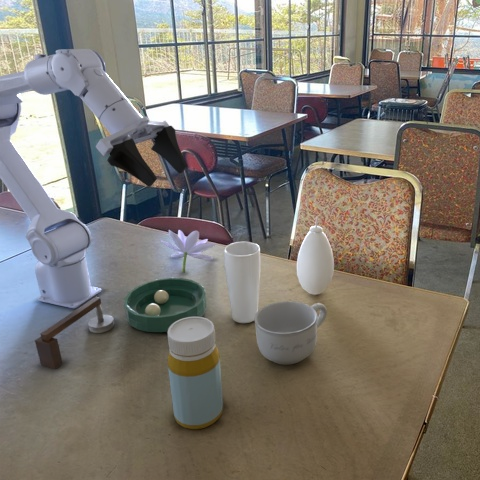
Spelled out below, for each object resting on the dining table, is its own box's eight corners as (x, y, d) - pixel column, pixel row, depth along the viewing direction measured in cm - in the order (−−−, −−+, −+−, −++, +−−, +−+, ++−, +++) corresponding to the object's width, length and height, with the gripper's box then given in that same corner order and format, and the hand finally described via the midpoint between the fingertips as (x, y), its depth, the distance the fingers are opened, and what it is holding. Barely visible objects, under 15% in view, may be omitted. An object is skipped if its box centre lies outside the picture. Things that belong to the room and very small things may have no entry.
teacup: (269, 380, 78) (268, 339, 75) (246, 344, 87) (245, 306, 84) (343, 357, 84) (345, 318, 81) (315, 326, 93) (316, 289, 90)
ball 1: (143, 319, 92) (141, 306, 91) (151, 312, 94) (150, 299, 93) (155, 322, 91) (153, 309, 90) (164, 314, 94) (162, 302, 93)
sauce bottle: (290, 297, 103) (291, 218, 96) (305, 281, 109) (306, 206, 102) (324, 305, 100) (327, 225, 93) (337, 288, 107) (341, 212, 100)
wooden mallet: (100, 318, 93) (95, 290, 91) (119, 322, 92) (114, 294, 90) (37, 364, 80) (29, 333, 78) (58, 370, 79) (51, 338, 77)
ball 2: (152, 305, 97) (150, 293, 96) (160, 298, 99) (158, 286, 98) (164, 307, 96) (162, 295, 95) (172, 300, 99) (170, 288, 97)
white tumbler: (255, 329, 91) (253, 258, 85) (222, 324, 93) (217, 253, 87) (266, 310, 98) (265, 243, 92) (234, 306, 99) (231, 239, 93)
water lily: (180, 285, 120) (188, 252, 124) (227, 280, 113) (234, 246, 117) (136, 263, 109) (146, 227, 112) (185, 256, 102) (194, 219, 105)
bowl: (109, 326, 91) (106, 308, 89) (157, 289, 104) (155, 273, 103) (179, 342, 87) (177, 324, 85) (220, 301, 100) (219, 284, 99)
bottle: (179, 398, 74) (169, 315, 68) (225, 396, 74) (219, 314, 68) (170, 433, 67) (158, 344, 61) (220, 430, 68) (214, 343, 62)
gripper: (88, 102, 70) (148, 174, 71) (156, 89, 82) (208, 150, 83) (71, 132, 75) (128, 200, 75) (139, 115, 86) (187, 174, 87)
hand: (169, 176), depth 79 cm, fingers open, 7 cm apart
